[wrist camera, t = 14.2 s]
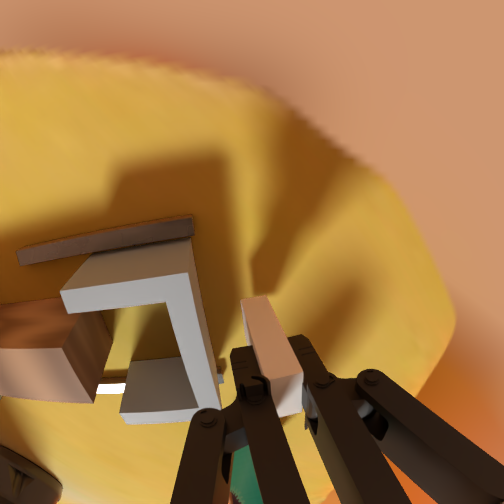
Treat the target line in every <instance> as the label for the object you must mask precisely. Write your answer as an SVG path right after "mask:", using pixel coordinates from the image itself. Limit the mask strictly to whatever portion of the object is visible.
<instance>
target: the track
mask: <svg viewBox="0 0 504 504" xmlns="http://www.w3.org/2000/svg"><path fill="white" fill-rule="evenodd" d="M193 235H195V229H194V223H193V216H192V214H190V215H184V216H178V217H171V218H165V219H159V220H153V221H148V222H142V223H136V224H131V225H125V226H120V227H115V228H109V229H104V230H99V231H94V232H89V233H84V234H79V235H75V236H70V237H65V238H61V239H56V240H52V241H47V242H43V243H38V244H34V245H30V246H26V247H22V248H20V249H19V250H17V251H16V254H17V257H18V261H19V264H20V266H23V265H28V264H33V263H38V262H43V261H48V260H54V259H59V258H64V257H69V256H75V255H80V254H86V253H91V252H97V251H102V250H108V249H114V248H120V247H125V246H131V245H137V244H143V243H149V242H155V241H161V240H168V239H174V238H180V237H187V236H193ZM216 368H217V375H218V383H219V384H221V383H224V380H223V374H222V370H221V367H216ZM126 378H127V377H110V378H101V380H100V383H99V387H98V390H97V393H123V392H124V387H125V383H126Z"/></svg>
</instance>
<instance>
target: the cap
mask: <svg viewBox="0 0 504 504" xmlns="http://www.w3.org/2000/svg"><path fill="white" fill-rule="evenodd" d="M60 294H61V297H62V299H63V302H64V305H65V307H66V310H67V312H68V314H71V313H80V312H90V311H99V310H107V309H116V308H124V307H132V306H140V305H147V304H155V303H162V302H166V304H167V308H168V312H169V315H170V319H171V323H172V326H173V330H174V333H175V336H176V340H177V343H178V346H179V350H180V353H181V357H172V358H163V359H154V360H143V361H131V362H130V365H129V369H128V374H127V378H126V383H125V387H124V392H123V397H122V402H121V407H120V412H119V413H120V415H121V416H122V418H123V419H124V421H125V422H126V424H156V423H172V422H184V421H191V419H192V417H193V415H194V414H195V413H196V412H197V411H198V410H201V409H203V408H210V407H211V408H216V409H218V410H221V409H222V404H221V398H220V390H219V383H218V375H217V368H216V362H215V358H214V353H213V349H212V345H211V340H210V336H209V331H208V326H207V322H206V317H205V312H204V307H203V303H202V298H201V293H200V287H199V282H198V277H197V272H196V266H195V261H194V255H193V249H192V243H191V237H188V238H182V239H175V240H169V241H163V242H157V243H150V244H144V245H138V246H132V247H126V248H121V249H115V250H109V251H103V252H98V253H92V254H91V255H90V257H89V258H88V259H87V260H86V261H85V262H84V263H83V264H82V265H81V267H80V268H79V269H78V270H77V271H76V272H75V273H74V274H73V276H72V277H71V278H70V279H69V280H68V281H67V283H66V284H65V285H64V286H63V287H62V289H61V290H60Z"/></svg>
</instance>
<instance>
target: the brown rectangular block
mask: <svg viewBox="0 0 504 504" xmlns="http://www.w3.org/2000/svg"><path fill="white" fill-rule="evenodd" d="M112 344H113V342H112V339H111V337H110V335H109V332H108V330H107V327H106V325H105V322H104V319H103V317H102V314H101V311H100V310H99V311H90V312H80V313H71V314H68V312H67V310H66V307H65V305H64V302H63V299H62V297H59V298H51V299H43V300H35V301H27V302H18V303H10V304H1V305H0V395H2V396H8V397H15V398H22V399H31V400H40V401H52V402H66V403H94V400H95V397H96V393H97V390H98V387H99V383H100V380H101V377H102V374H103V371H104V368H105V364H106V361H107V358H108V355H109V353H110V350H111V347H112Z"/></svg>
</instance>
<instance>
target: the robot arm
mask: <svg viewBox="0 0 504 504" xmlns="http://www.w3.org/2000/svg"><path fill="white" fill-rule="evenodd" d="M240 301H241V308H242V316H243V323H244V331H245V338H246V341H247V345H248V346H245V347H239V348H233V349H232V351H231V354H230V360H231V366H232V371H233V376H234V381H235V386H236V391H237V396H236V399H235V401H234V402H233V403H232V404H231V405H230V406H228V407H226V408H224V409H221V410H218V409H216V408H211V407H210V408H203V409H201V410H198V411H197V412H196V413H195V414H194V415H193V417H192V419H191V422H190V426H189V430H188V434H187V438H186V442H185V446H184V450H183V454H182V458H181V462H180V466H179V470H178V474H177V478H176V482H175V486H174V490H173V494H172V498H171V502H170V504H228V502H229V494H230V485H231V477H232V469H233V460H234V452H235V451H237V450H239V449H241V448H243V447H245V446H247V445H249V450H250V454H251V458H252V462H253V466H254V470H255V474H256V478H257V482H258V486H259V490H260V494H261V497H262V501H263V504H310V502H309V499H308V497H307V494H306V491H305V489H304V486H303V483H302V480H301V478H300V475H299V472H298V470H297V467H296V464H295V461H294V459H293V456H292V453H291V450H290V447H289V445H288V442H287V439H286V436H285V433H284V430H283V427H282V425H281V422H280V419H279V417H284V416H288V415H292V414H296V413H300V412H302V406H303V408H304V411H305V430H306V429H307V428H309V430H310V432H311V435H312V437H313V439H314V442H315V444H316V446H317V449H318V451H319V454H320V456H321V458H322V461H323V463H324V465H325V468H326V470H327V472H328V474H329V477H330V479H331V481H332V484H333V486H334V488H335V490H336V493H337V495H338V497H339V500H340V502H341V504H412V503H411V501H410V500H409V498H408V496H407V494H406V493H405V491H404V489H403V488H402V486H401V484H400V482H399V481H398V479H397V478H396V476H395V474H394V472H393V471H392V469H391V467H390V466H389V464H388V462H387V460H386V459H385V457H384V456H383V454H385V455H386V456H387V457H388V458H389V459H390V460H391V461H392V462H393V463H394V464H395V465H396V466H397V467H398V468H399V469H400V470H401V471H403V472H404V473H405V474H406V475H407V476H408V477H409V478H410V479H411V480H412V481H413V482H414V483H415V484H417V485H418V486H419V487H420V488H421V489H422V490H423V491H424V492H425V493H427V494H428V495H429V496H430V497H431V498H432V499H433V500H435V501H436V502H437V503H438V504H504V466H503V465H502V464H501V463H499V462H498V461H497V460H495V459H494V458H493V457H491V456H490V455H489V454H487V453H486V452H485V451H483V450H482V449H481V448H479V447H478V446H477V445H475V444H474V443H473V442H471V441H470V440H469V439H467V438H466V437H465V436H464V435H462V434H461V433H460V432H458V431H457V430H456V429H454V428H453V427H452V426H450V425H449V424H448V423H447V422H445V421H444V420H443V419H441V418H440V417H439V416H438V415H436V414H435V413H433V412H432V411H431V410H430V409H428V408H427V407H426V406H425V405H423V404H422V403H421V402H419V401H418V400H417V399H416V398H414V397H413V396H412V395H410V394H409V393H408V392H407V391H405V390H404V389H403V388H402V387H400V386H399V385H398V384H396V383H395V382H394V381H393V380H391V379H390V378H389V377H388V376H386V375H385V374H384V373H382V372H381V371H379V370H376V369H366V370H364V371H361V372H360V373H359V374H358V376H357V378H349V379H341V378H337V377H336V376H335V375H334V374H332V373H330V372H328V371H327V370H326V368H325V366H324V365H323V363H322V361H321V359H320V358H319V356H318V354H317V353H316V351H315V349H314V348H313V346H312V344H311V342H310V341H309V339H307V338H306V337H305V336H303V335H302V334H301V335H296V336H292V337H286V335H285V333H284V331H283V329H282V327H281V325H280V323H279V321H278V319H277V317H276V315H275V312H274V310H273V308H272V306H271V304H270V302H269V300H268V298H267V296H266V295H263V296H258V297H252V298H246V299H240ZM382 453H383V454H382ZM62 489H63V488H62V486H61V484H60V483H59V482H58V481H57V480H56V479H54V478H53V477H52V476H51V475H49V474H48V473H47V472H45V471H44V470H42V469H41V468H39V467H38V466H36V465H35V464H33V463H31V462H30V461H28V460H26V459H25V458H23V457H21V456H20V455H18V454H16V453H14V452H12V451H10V450H8V449H6V448H4V447H2V446H0V504H56V503H57V501H59V500H60V499H61V495H62Z"/></svg>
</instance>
